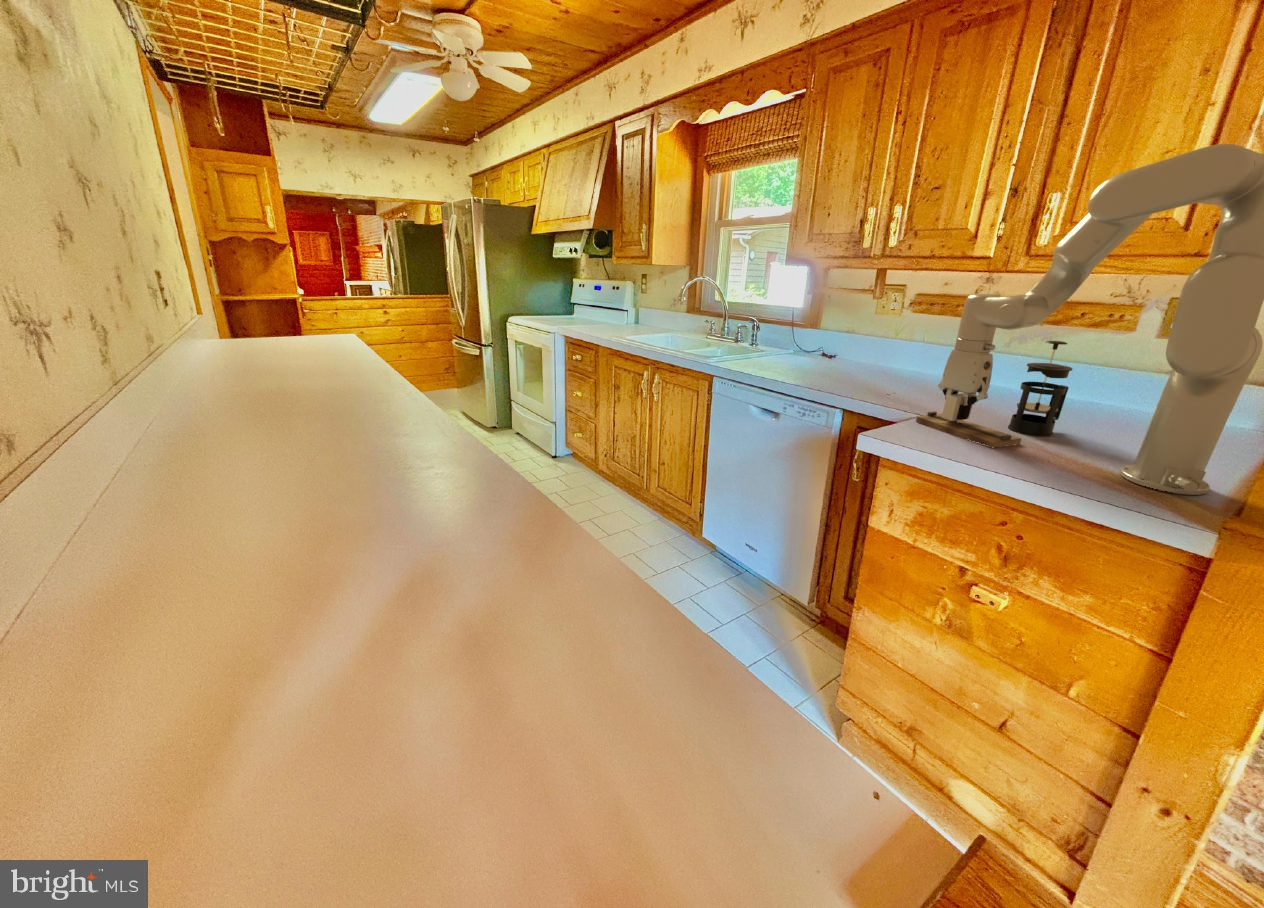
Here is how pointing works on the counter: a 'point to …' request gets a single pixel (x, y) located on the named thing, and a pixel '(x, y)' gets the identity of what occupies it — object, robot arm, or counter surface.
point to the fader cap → (953, 406)
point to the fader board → (968, 430)
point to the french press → (1036, 423)
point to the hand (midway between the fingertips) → (955, 416)
